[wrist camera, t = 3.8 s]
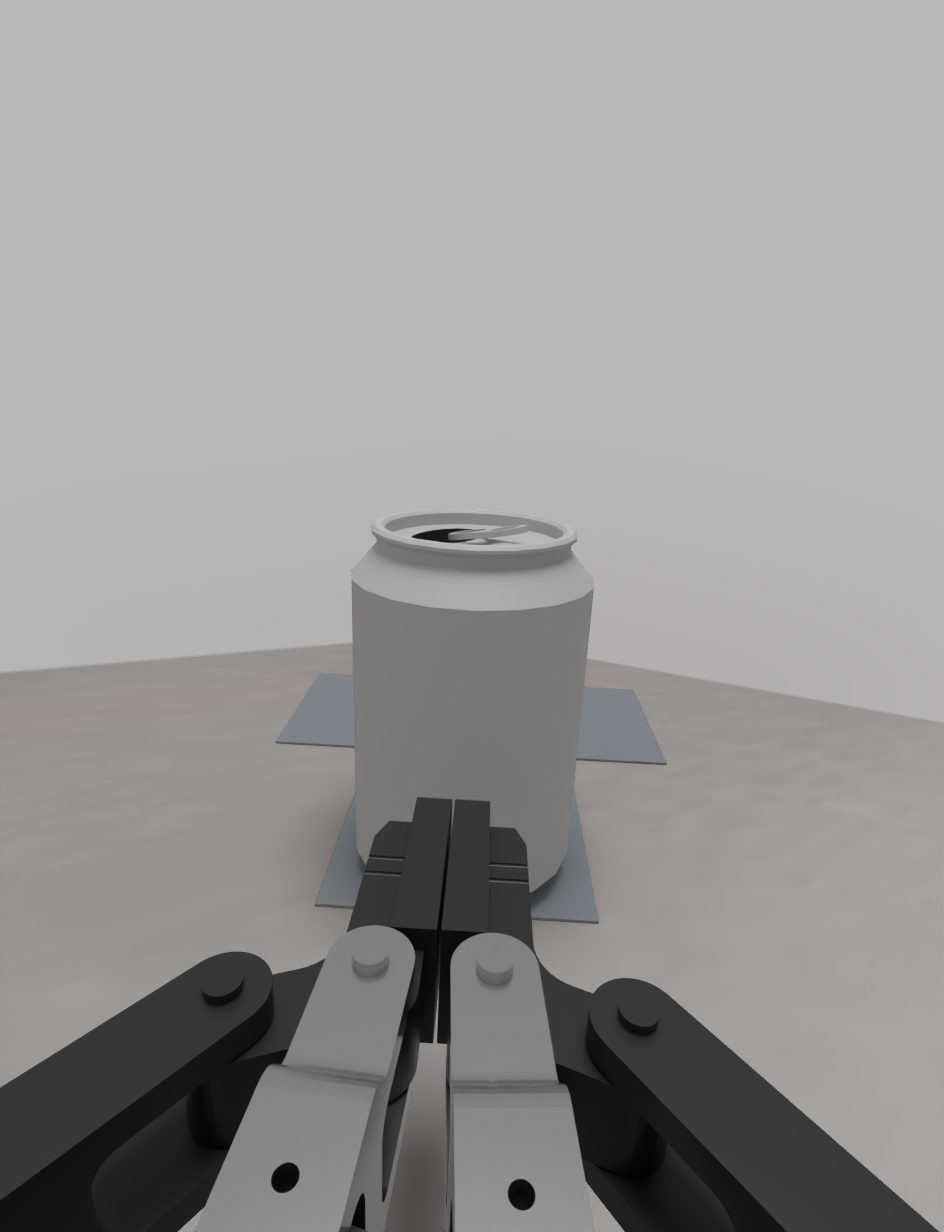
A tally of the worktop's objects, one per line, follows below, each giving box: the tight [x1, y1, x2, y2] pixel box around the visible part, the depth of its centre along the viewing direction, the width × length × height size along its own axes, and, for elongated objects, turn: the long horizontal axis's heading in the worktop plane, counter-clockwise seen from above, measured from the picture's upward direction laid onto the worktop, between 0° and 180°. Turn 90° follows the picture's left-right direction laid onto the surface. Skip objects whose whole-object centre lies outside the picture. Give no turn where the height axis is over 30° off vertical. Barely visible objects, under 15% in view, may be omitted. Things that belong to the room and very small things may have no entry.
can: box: [351, 509, 594, 893], centre depth 22 cm, size 8×8×12 cm
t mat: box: [276, 673, 666, 924], centre depth 30 cm, size 18×18×1 cm
